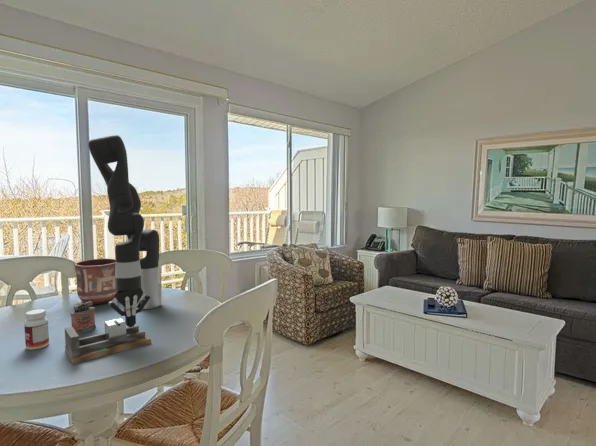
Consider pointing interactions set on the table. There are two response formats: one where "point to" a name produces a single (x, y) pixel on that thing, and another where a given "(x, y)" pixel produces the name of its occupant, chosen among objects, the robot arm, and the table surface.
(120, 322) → the gauge slider
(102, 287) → the pottery
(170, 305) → the table surface
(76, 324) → the lighter
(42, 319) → the pill bottle
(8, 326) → the table surface
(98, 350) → the gauge track
